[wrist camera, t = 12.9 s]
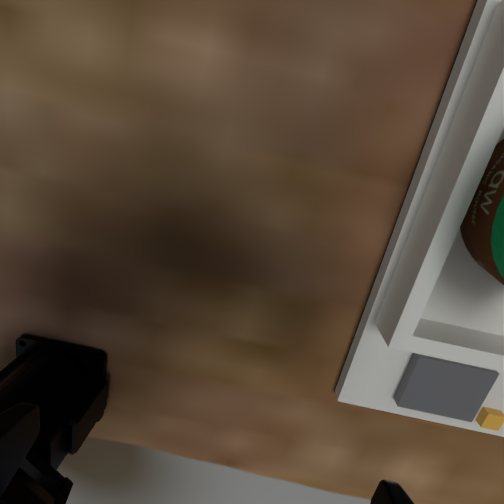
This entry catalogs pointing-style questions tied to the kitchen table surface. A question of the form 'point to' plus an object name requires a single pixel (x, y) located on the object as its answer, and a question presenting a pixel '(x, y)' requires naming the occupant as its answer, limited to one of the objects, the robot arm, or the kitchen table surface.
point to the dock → (441, 265)
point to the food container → (488, 218)
